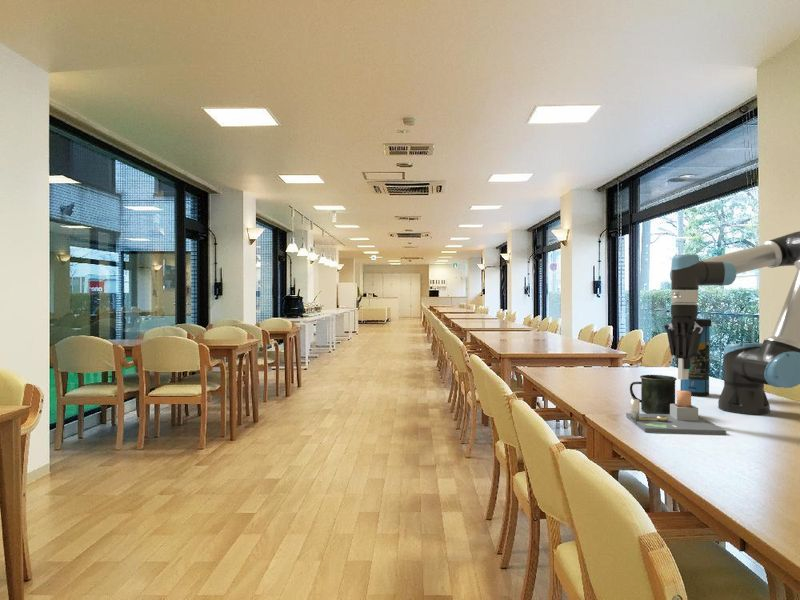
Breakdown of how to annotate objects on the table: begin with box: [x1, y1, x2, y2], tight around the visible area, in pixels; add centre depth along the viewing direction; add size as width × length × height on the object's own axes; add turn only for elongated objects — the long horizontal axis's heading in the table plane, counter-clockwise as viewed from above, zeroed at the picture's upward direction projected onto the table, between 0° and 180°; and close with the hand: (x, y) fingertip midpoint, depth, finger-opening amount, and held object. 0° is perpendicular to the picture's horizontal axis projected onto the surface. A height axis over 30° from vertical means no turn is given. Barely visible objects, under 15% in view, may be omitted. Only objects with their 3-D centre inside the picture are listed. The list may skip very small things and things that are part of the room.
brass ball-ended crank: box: [630, 398, 668, 421], centre depth 169 cm, size 11×3×6 cm, turn 82°
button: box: [676, 390, 692, 408], centre depth 172 cm, size 4×4×5 cm
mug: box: [629, 374, 678, 414], centre depth 187 cm, size 11×15×12 cm
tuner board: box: [625, 403, 727, 436], centre depth 168 cm, size 22×20×5 cm
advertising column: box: [680, 318, 712, 398], centre depth 219 cm, size 11×11×30 cm
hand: (683, 379), depth 172 cm, fingers closed
